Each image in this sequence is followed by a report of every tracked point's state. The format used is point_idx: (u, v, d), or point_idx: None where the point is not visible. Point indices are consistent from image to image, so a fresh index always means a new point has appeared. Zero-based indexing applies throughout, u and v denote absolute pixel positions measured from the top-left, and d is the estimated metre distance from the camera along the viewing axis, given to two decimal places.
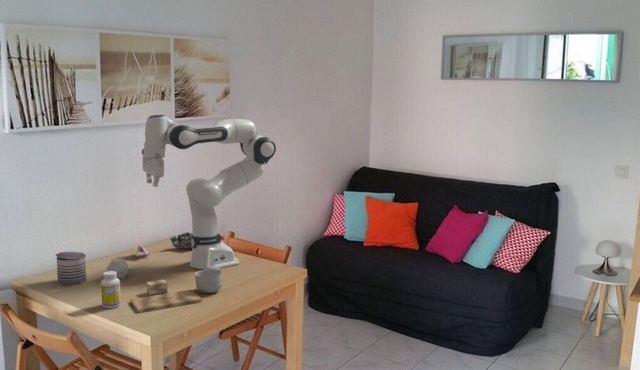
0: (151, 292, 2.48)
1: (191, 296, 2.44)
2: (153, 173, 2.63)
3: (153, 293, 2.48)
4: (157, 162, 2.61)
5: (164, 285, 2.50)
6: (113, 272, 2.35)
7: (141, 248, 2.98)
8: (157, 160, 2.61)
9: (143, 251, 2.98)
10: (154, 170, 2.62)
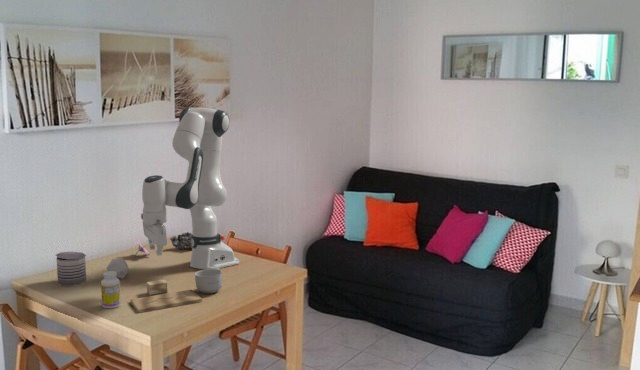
0: (151, 292, 2.48)
1: (191, 296, 2.44)
2: (155, 242, 2.40)
3: (153, 293, 2.48)
4: (158, 230, 2.38)
5: (164, 285, 2.50)
6: (113, 272, 2.35)
7: (141, 248, 2.98)
8: (158, 228, 2.38)
9: (143, 251, 2.99)
10: (156, 239, 2.39)
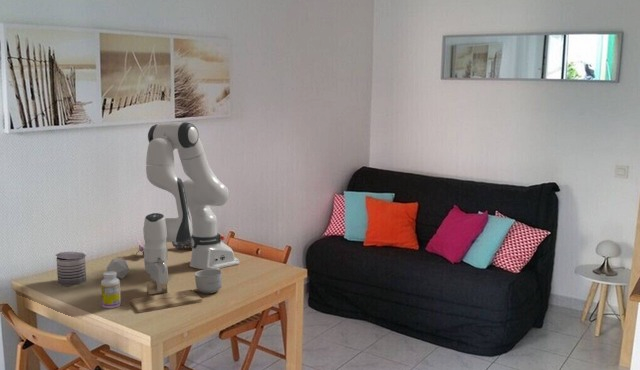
0: (151, 292, 2.48)
1: (191, 296, 2.44)
2: (157, 280, 2.43)
3: (153, 293, 2.48)
4: (160, 269, 2.41)
5: (164, 284, 2.50)
6: (113, 272, 2.35)
7: (142, 248, 2.98)
8: (160, 267, 2.41)
9: None
10: (158, 277, 2.42)
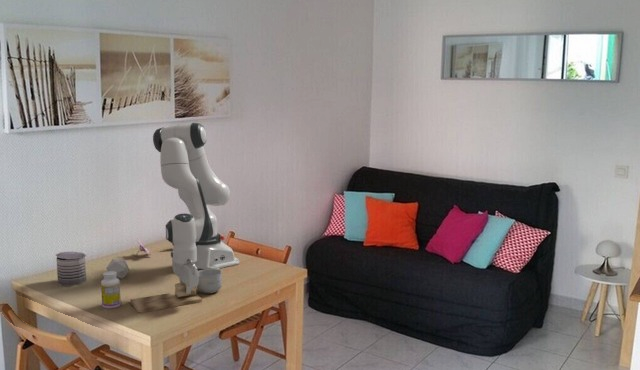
0: (180, 294, 2.41)
1: (191, 296, 2.44)
2: (186, 282, 2.37)
3: (182, 295, 2.42)
4: (190, 271, 2.34)
5: None
6: (113, 272, 2.35)
7: (142, 248, 2.98)
8: (190, 268, 2.34)
9: (144, 251, 2.99)
10: (188, 279, 2.35)
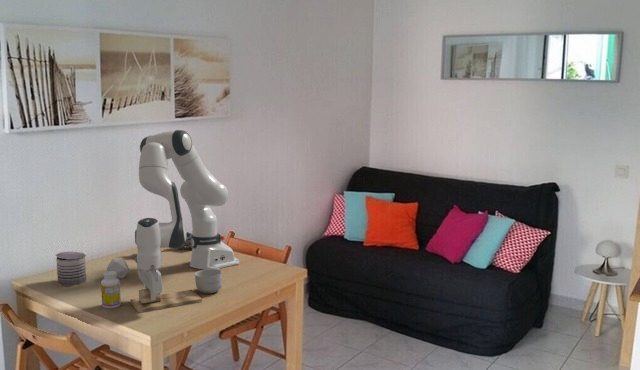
0: (143, 300, 2.34)
1: (191, 296, 2.44)
2: (150, 289, 2.30)
3: (145, 302, 2.35)
4: (153, 277, 2.27)
5: (157, 293, 2.37)
6: (113, 272, 2.35)
7: None
8: (153, 275, 2.28)
9: None
10: (151, 286, 2.28)
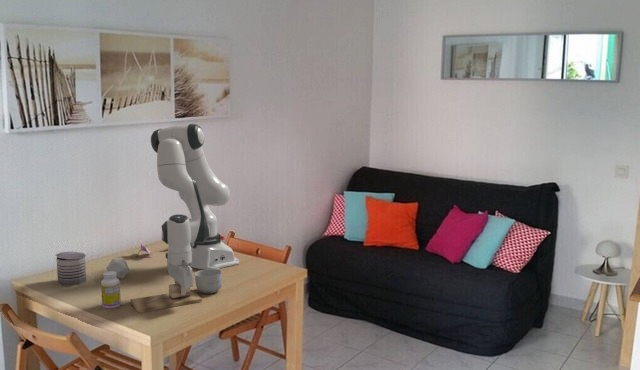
0: (173, 295, 2.40)
1: (191, 296, 2.44)
2: (181, 283, 2.36)
3: (175, 296, 2.40)
4: (185, 272, 2.33)
5: None
6: (113, 272, 2.35)
7: (144, 247, 2.99)
8: (184, 270, 2.33)
9: (145, 250, 3.00)
10: (182, 280, 2.34)
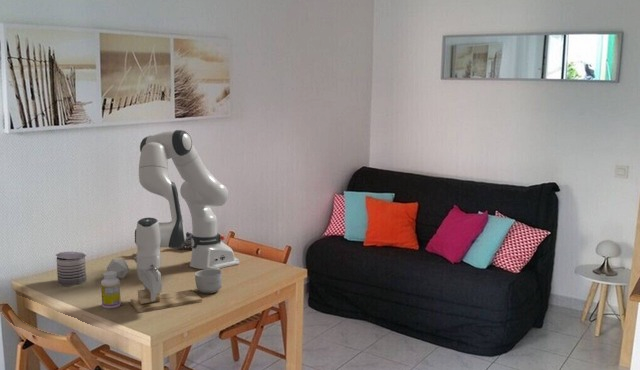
0: (142, 301, 2.34)
1: (191, 296, 2.44)
2: (150, 288, 2.30)
3: (144, 302, 2.35)
4: (153, 277, 2.27)
5: (156, 293, 2.36)
6: (113, 272, 2.35)
7: None
8: (153, 274, 2.28)
9: None
10: (151, 285, 2.28)
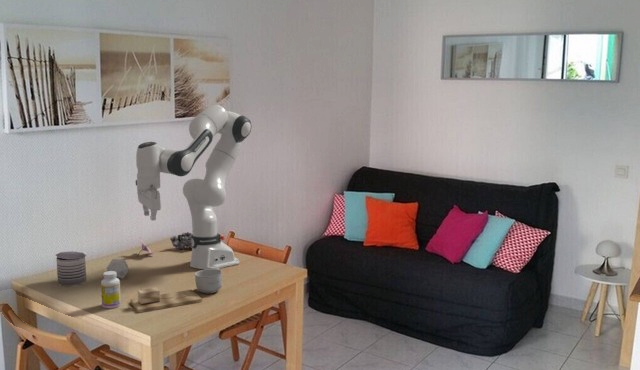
0: (142, 301, 2.34)
1: (191, 296, 2.44)
2: (149, 207, 2.44)
3: (144, 302, 2.35)
4: (152, 195, 2.42)
5: (156, 293, 2.36)
6: (113, 272, 2.35)
7: (145, 247, 2.99)
8: (152, 193, 2.42)
9: (147, 250, 3.00)
10: (150, 203, 2.43)
